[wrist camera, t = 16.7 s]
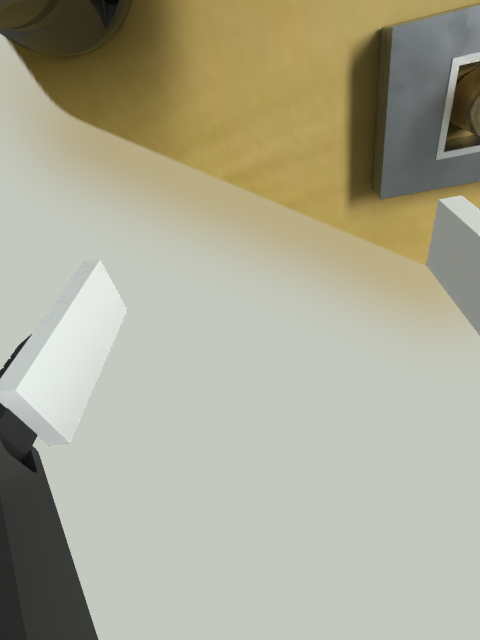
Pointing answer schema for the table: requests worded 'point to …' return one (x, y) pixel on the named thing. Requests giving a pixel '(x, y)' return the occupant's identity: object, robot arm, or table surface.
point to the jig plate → (424, 104)
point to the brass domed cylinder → (467, 103)
